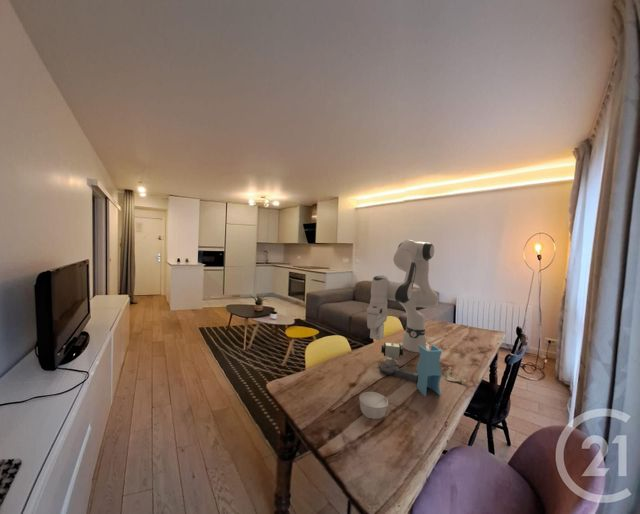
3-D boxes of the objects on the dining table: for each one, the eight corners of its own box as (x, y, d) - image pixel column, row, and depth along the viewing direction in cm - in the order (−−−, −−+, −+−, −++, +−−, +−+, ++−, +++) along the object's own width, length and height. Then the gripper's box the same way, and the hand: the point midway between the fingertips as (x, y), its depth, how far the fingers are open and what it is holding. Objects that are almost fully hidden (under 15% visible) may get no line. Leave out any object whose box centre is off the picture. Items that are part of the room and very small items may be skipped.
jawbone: (449, 386, 131) (449, 381, 131) (434, 368, 151) (433, 364, 151) (468, 385, 131) (468, 381, 130) (450, 368, 151) (450, 364, 151)
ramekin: (388, 423, 99) (389, 409, 99) (358, 418, 101) (358, 405, 100) (386, 406, 110) (387, 393, 110) (358, 402, 112) (359, 389, 111)
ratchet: (383, 367, 146) (384, 353, 146) (431, 380, 133) (432, 366, 133) (378, 372, 139) (379, 358, 139) (428, 387, 126) (429, 372, 126)
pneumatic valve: (402, 366, 148) (403, 345, 147) (380, 364, 150) (382, 342, 150) (401, 362, 153) (402, 342, 153) (380, 360, 156) (381, 339, 155)
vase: (430, 385, 128) (433, 344, 128) (440, 394, 120) (443, 351, 120) (415, 386, 127) (417, 344, 126) (424, 395, 119) (427, 351, 118)
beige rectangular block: (373, 335, 143) (374, 322, 143) (383, 337, 140) (384, 323, 140) (369, 338, 139) (370, 324, 138) (380, 340, 136) (380, 326, 135)
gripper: (379, 302, 149) (377, 327, 150) (365, 309, 132) (363, 337, 132) (390, 304, 146) (389, 329, 147) (377, 312, 128) (376, 340, 129)
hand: (377, 333), depth 139 cm, fingers closed on beige rectangular block, 5 cm apart
